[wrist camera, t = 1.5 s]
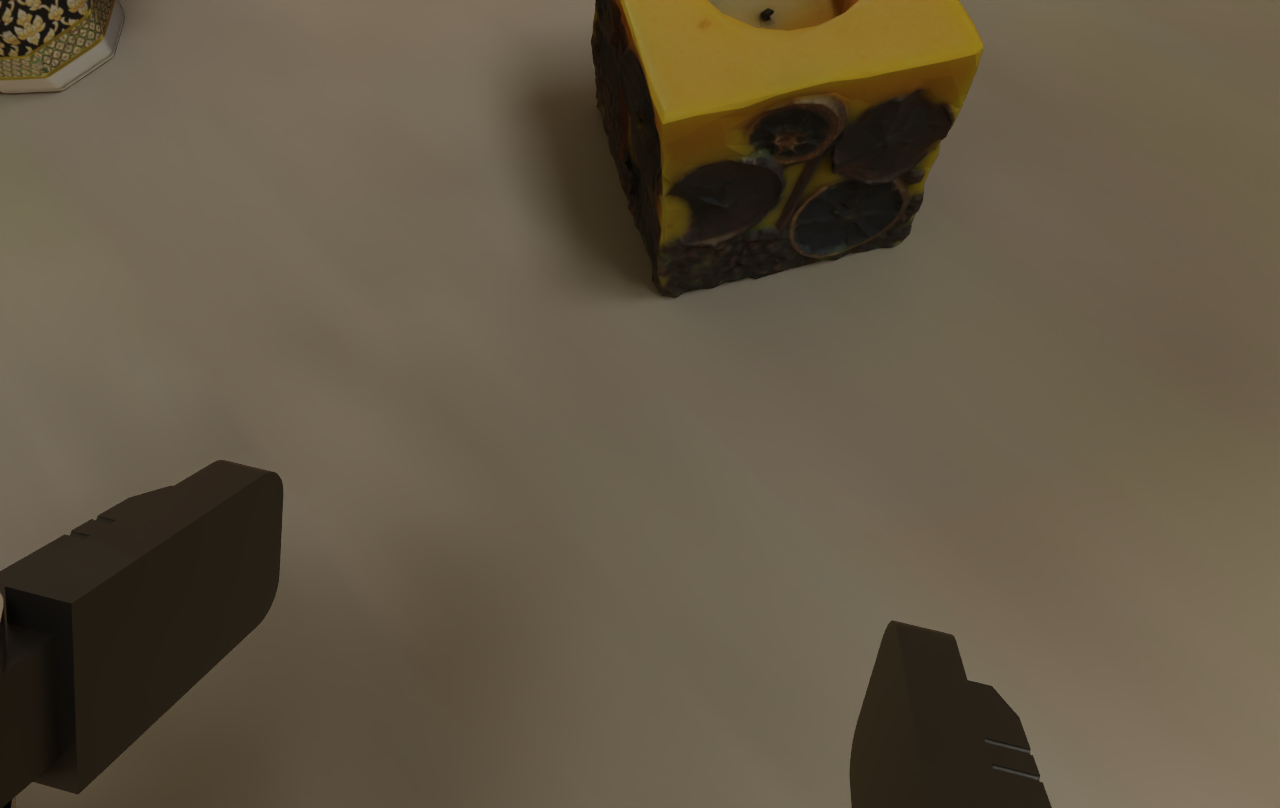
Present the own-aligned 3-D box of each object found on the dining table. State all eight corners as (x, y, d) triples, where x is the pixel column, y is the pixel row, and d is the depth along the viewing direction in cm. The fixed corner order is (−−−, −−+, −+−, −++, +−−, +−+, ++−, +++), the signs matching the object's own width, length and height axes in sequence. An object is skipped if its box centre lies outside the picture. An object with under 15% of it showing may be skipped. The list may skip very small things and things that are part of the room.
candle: (594, 103, 39) (566, -117, 29) (825, 50, 39) (868, -181, 30) (656, 308, 34) (646, 126, 25) (913, 245, 35) (993, 46, 26)
